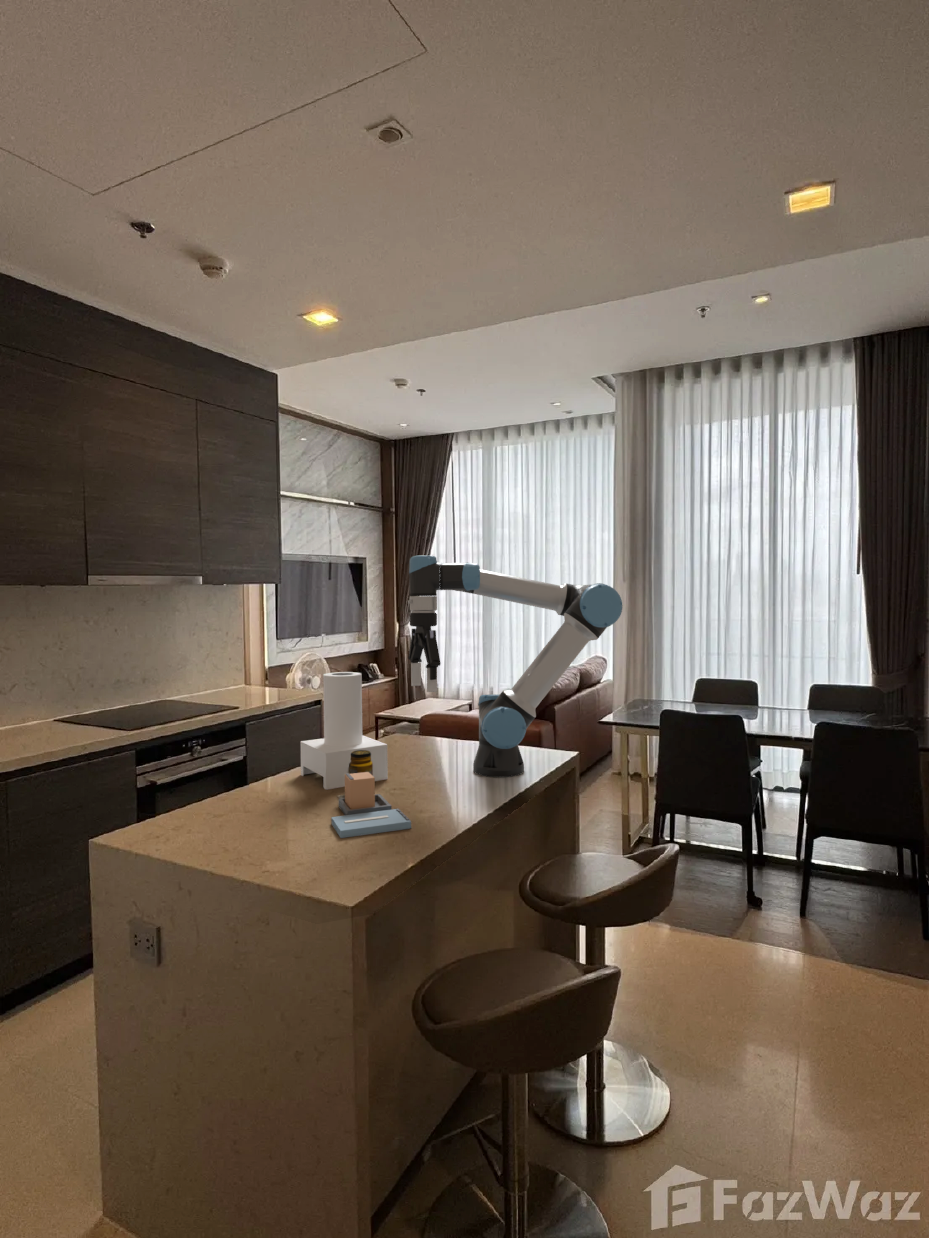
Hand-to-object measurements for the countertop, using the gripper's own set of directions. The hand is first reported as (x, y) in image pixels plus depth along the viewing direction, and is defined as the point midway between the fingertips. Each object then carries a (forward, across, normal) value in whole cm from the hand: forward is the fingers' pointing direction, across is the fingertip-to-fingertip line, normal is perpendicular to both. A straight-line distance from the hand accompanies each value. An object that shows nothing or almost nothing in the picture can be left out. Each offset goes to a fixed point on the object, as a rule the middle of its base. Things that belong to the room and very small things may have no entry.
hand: (423, 688), depth 190 cm
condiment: (+27, +5, -20) cm, 34 cm away
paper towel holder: (+27, -17, -19) cm, 37 cm away
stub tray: (+27, +16, -21) cm, 38 cm away
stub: (+26, +16, -22) cm, 38 cm away
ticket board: (+27, +28, -22) cm, 45 cm away
